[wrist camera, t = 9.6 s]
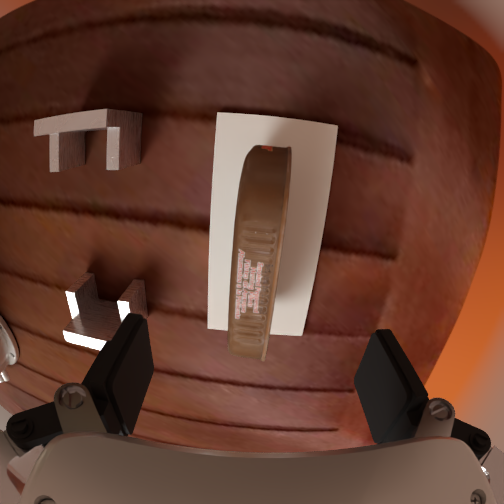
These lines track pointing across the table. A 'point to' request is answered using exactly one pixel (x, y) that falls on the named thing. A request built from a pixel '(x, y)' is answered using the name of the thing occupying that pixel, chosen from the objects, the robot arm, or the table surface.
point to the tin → (257, 248)
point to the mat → (298, 214)
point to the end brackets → (118, 157)
